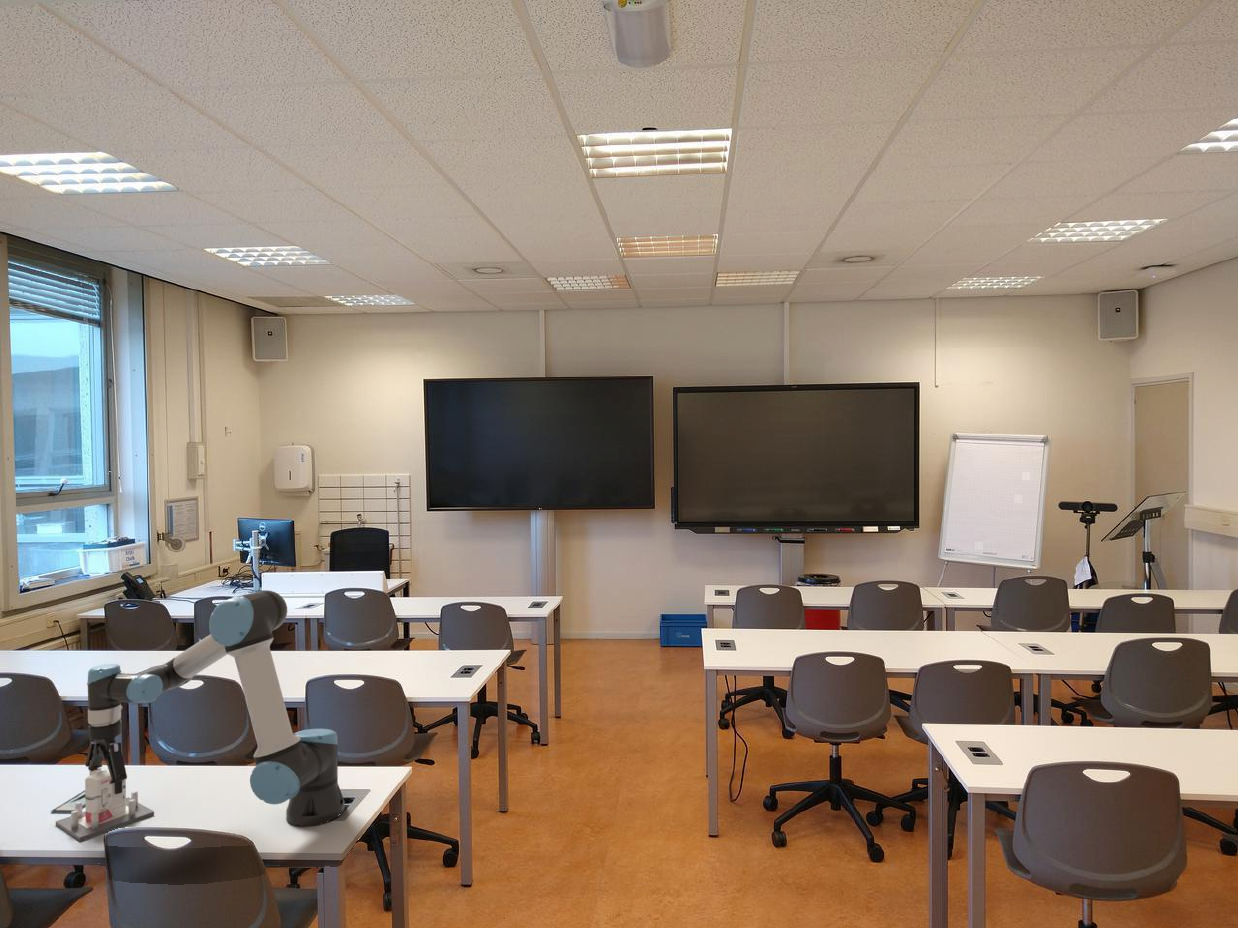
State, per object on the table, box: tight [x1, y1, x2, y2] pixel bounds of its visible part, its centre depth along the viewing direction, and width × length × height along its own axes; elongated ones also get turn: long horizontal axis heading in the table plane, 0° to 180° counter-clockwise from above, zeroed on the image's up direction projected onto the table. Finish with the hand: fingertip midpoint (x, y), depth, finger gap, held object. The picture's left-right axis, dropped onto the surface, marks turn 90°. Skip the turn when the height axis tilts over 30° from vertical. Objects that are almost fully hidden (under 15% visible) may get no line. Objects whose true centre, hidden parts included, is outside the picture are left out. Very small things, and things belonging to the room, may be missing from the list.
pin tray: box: [55, 790, 155, 842], centre depth 210 cm, size 16×18×5 cm
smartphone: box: [50, 789, 86, 814], centre depth 221 cm, size 7×1×15 cm
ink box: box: [84, 768, 127, 823], centre depth 209 cm, size 9×5×12 cm, turn 163°
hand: (106, 798), depth 209 cm, fingers open, 13 cm apart
